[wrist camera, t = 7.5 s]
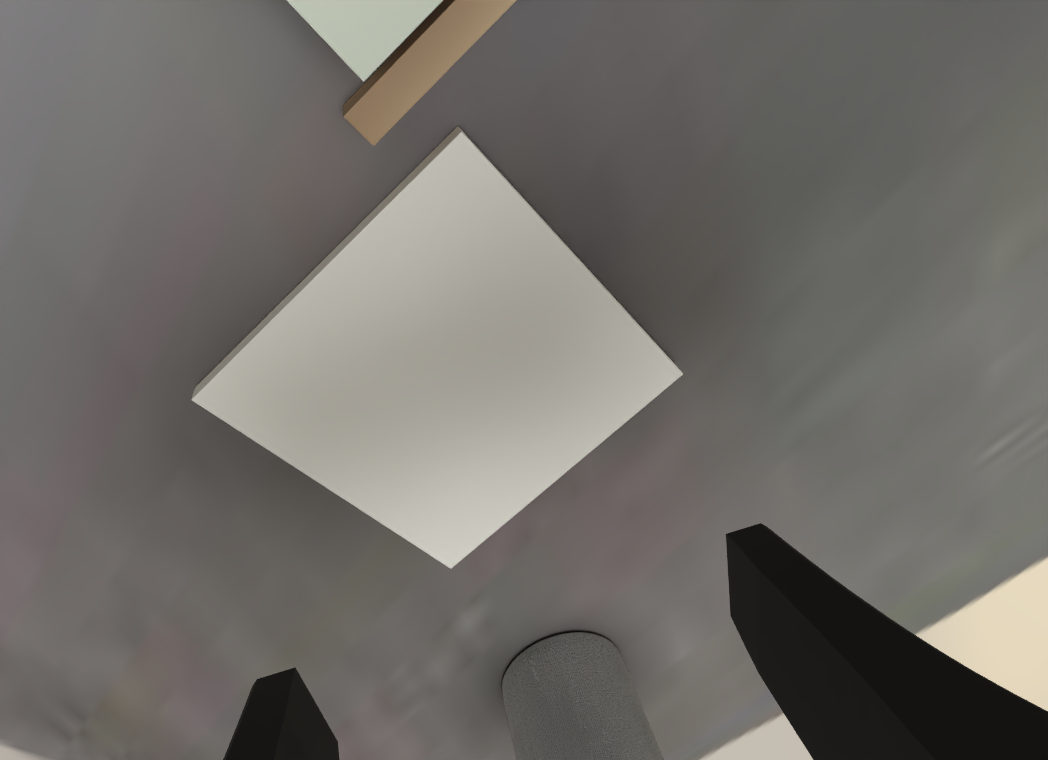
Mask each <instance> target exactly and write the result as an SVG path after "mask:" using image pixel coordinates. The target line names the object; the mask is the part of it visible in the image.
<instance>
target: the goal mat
mask: <svg viewBox="0 0 1048 760" xmlns="http://www.w3.org/2000/svg"><path fill="white" fill-rule="evenodd" d="M682 375H683V373H682V372H681V371H680V370H679V368H678V367H677V366H676V365H675V364H674V362H673V361H672V360H671V359H670V358H669V357H668V356H667V355H666V354H665V353H664V352H663V350H662V349H661V348H660V347H659V346H658V345H657V344H656V343H655V342H654V341H653V339H652V338H651V337H650V336H649V335H648V334H647V333H646V332H645V331H644V330H643V328H642V327H641V326H640V325H639V324H638V323H637V322H636V321H635V320H634V319H633V318H632V316H631V315H630V314H629V313H628V312H627V311H626V310H625V309H624V308H623V307H622V305H621V304H620V303H619V302H618V301H617V300H616V299H615V298H614V297H613V296H612V295H611V293H610V292H609V291H608V290H607V289H606V288H605V287H604V286H603V285H602V284H601V282H600V281H599V280H598V279H597V278H596V277H595V276H594V275H593V274H592V273H591V271H590V270H589V269H588V268H587V267H586V266H585V265H584V264H583V263H582V262H581V261H580V259H579V258H578V257H577V256H576V255H575V254H574V253H573V252H572V251H571V250H570V248H569V247H568V246H567V245H566V244H565V243H564V242H563V241H562V240H561V239H560V237H559V236H558V235H557V234H556V233H555V232H554V231H553V230H552V229H551V228H550V227H549V225H548V224H547V223H546V222H545V221H544V220H543V219H542V218H541V217H540V216H539V214H538V213H537V212H536V211H535V210H534V209H533V208H532V207H531V206H530V205H529V204H528V202H527V201H526V200H525V199H524V198H523V197H522V196H521V195H520V194H519V193H518V191H517V190H516V189H515V188H514V187H513V186H512V185H511V184H510V183H509V182H508V180H507V179H506V178H505V177H504V176H503V175H502V174H501V173H500V172H499V171H498V170H497V168H496V167H495V166H494V165H493V164H492V163H491V162H490V161H489V160H488V159H487V157H486V156H485V155H484V154H483V153H482V152H481V151H480V150H479V149H478V148H477V147H476V145H475V144H474V143H473V142H472V141H471V140H470V139H469V138H468V137H467V136H466V134H465V133H464V132H463V131H462V130H461V129H460V128H459V127H458V126H457V127H456V128H455V129H454V130H453V131H452V132H451V133H450V134H449V135H448V136H447V137H446V138H445V139H444V140H443V141H442V142H441V143H440V144H439V145H438V146H437V147H436V148H435V149H434V150H433V151H432V152H431V153H430V154H429V155H428V156H427V157H426V158H425V159H424V160H423V161H422V162H421V163H420V164H419V165H418V166H417V167H416V168H415V169H414V170H413V171H412V172H411V173H410V174H409V175H408V176H407V177H406V178H405V179H404V180H403V181H402V182H401V183H400V184H399V185H398V186H397V187H396V188H395V189H394V190H393V191H392V192H391V193H390V194H389V195H388V196H387V197H386V198H385V199H384V200H383V201H382V202H381V203H380V204H379V205H378V206H377V207H376V208H375V209H374V210H373V211H372V212H371V213H370V214H369V215H368V216H367V217H366V218H365V219H364V220H363V221H362V222H361V223H360V224H359V225H358V226H357V227H356V228H355V229H354V230H353V231H352V232H351V233H350V234H349V235H348V236H347V237H346V238H345V239H344V240H343V241H342V242H341V243H340V244H339V245H338V246H337V247H336V248H335V249H334V250H333V251H332V252H331V253H330V254H329V255H328V256H327V257H326V258H325V259H324V260H323V261H322V262H321V263H320V264H319V265H318V266H317V267H316V268H315V269H314V270H313V271H312V272H311V273H310V274H309V275H308V276H307V277H306V278H305V279H304V280H303V281H302V282H301V283H300V284H299V285H298V286H297V287H296V288H295V289H294V290H293V291H292V292H291V293H290V294H288V295H287V296H286V297H285V298H284V299H283V300H282V301H281V302H280V303H279V304H278V305H277V306H276V307H275V308H274V309H273V310H272V311H271V312H270V313H269V314H268V315H267V316H266V317H265V318H264V319H263V320H262V321H261V322H260V323H259V324H258V325H257V326H256V327H255V328H254V329H253V330H252V331H251V332H250V333H249V334H248V335H247V336H246V337H245V338H244V339H243V340H242V341H241V342H240V343H239V344H238V345H237V346H236V347H235V348H234V349H233V350H232V351H231V352H230V353H229V354H228V355H227V356H226V357H225V358H224V359H223V360H222V361H221V362H220V363H219V364H218V365H217V366H216V367H215V368H214V369H213V370H212V371H211V372H210V373H209V374H208V375H207V376H206V377H205V378H204V379H203V380H202V381H201V382H200V383H199V384H198V385H197V386H196V387H195V390H194V393H193V396H192V399H191V400H192V401H194V402H195V403H197V404H198V405H200V406H201V407H203V408H205V409H206V410H208V411H209V412H211V413H212V414H214V415H215V416H217V417H218V418H220V419H221V420H223V421H225V422H226V423H228V424H229V425H231V426H232V427H234V428H235V429H237V430H238V431H240V432H241V433H243V434H245V435H246V436H248V437H249V438H251V439H252V440H254V441H255V442H257V443H258V444H260V445H261V446H263V447H265V448H266V449H268V450H269V451H271V452H272V453H274V454H275V455H277V456H278V457H280V458H281V459H283V460H285V461H286V462H288V463H289V464H291V465H292V466H294V467H295V468H297V469H298V470H300V471H301V472H303V473H305V474H306V475H308V476H309V477H311V478H312V479H314V480H315V481H317V482H318V483H320V484H321V485H323V486H325V487H326V488H328V489H329V490H331V491H332V492H334V493H335V494H337V495H338V496H340V497H341V498H343V499H345V500H346V501H348V502H349V503H351V504H352V505H354V506H355V507H357V508H358V509H360V510H361V511H363V512H365V513H366V514H368V515H369V516H371V517H372V518H374V519H375V520H377V521H378V522H380V523H381V524H383V525H385V526H386V527H388V528H389V529H391V530H392V531H394V532H395V533H397V534H398V535H400V536H401V537H403V538H404V539H406V540H408V541H409V542H411V543H412V544H414V545H415V546H417V547H418V548H420V549H421V550H423V551H424V552H426V553H428V554H429V555H431V556H432V557H434V558H435V559H437V560H438V561H440V562H441V563H443V564H444V565H446V566H448V567H449V568H452V567H454V566H455V565H456V564H457V563H458V562H460V561H461V560H462V559H463V558H464V557H465V556H467V555H468V554H469V553H470V552H471V551H473V550H474V549H475V548H476V547H477V546H479V545H480V544H481V543H482V542H483V541H485V540H486V539H487V538H488V537H489V536H491V535H492V534H493V533H494V532H495V531H497V530H498V529H499V528H500V527H501V526H502V525H504V524H505V523H506V522H507V521H508V520H510V519H511V518H512V517H513V516H514V515H516V514H517V513H518V512H519V511H520V510H522V509H523V508H524V507H525V506H526V505H528V504H529V503H530V502H531V501H532V500H534V499H535V498H536V497H537V496H538V495H540V494H541V493H542V492H543V491H544V490H545V489H547V488H548V487H549V486H550V485H551V484H553V483H554V482H555V481H556V480H557V479H559V478H560V477H561V476H562V475H563V474H565V473H566V472H567V471H568V470H569V469H571V468H572V467H573V466H574V465H575V464H577V463H578V462H579V461H580V460H581V459H582V458H584V457H585V456H586V455H587V454H588V453H590V452H591V451H592V450H593V449H594V448H596V447H597V446H598V445H599V444H600V443H602V442H603V441H604V440H605V439H606V438H608V437H609V436H610V435H611V434H612V433H614V432H615V431H616V430H617V429H618V428H619V427H621V426H622V425H623V424H624V423H625V422H627V421H628V420H629V419H630V418H631V417H633V416H634V415H635V414H636V413H637V412H639V411H640V410H641V409H642V408H643V407H645V406H646V405H647V404H648V403H649V402H651V401H652V400H653V399H654V398H655V397H657V396H658V395H659V394H660V393H661V392H662V391H664V390H665V389H666V388H667V387H668V386H670V385H671V384H672V383H673V382H674V381H676V380H677V379H678V378H679V377H680V376H682Z"/></svg>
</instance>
